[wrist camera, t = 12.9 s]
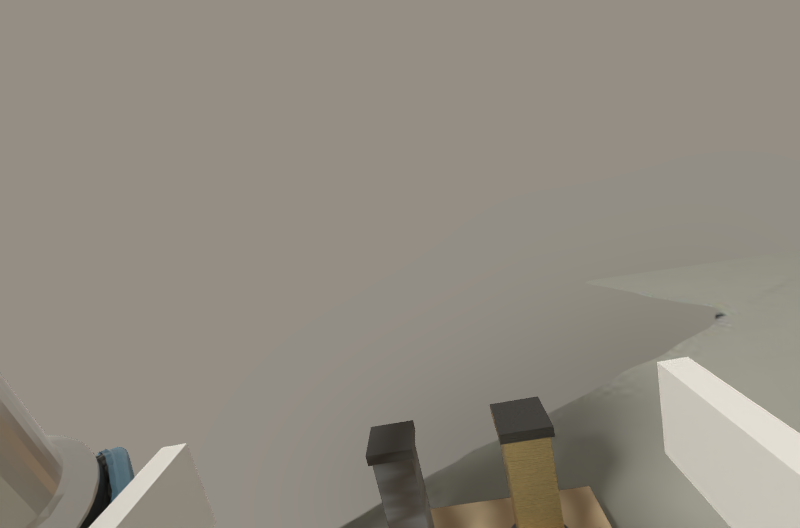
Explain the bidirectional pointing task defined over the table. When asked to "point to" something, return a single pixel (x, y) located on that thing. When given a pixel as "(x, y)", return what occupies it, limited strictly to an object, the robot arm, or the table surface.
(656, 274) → the table surface
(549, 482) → the brass leg
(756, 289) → the table surface
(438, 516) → the tan and grey stand
